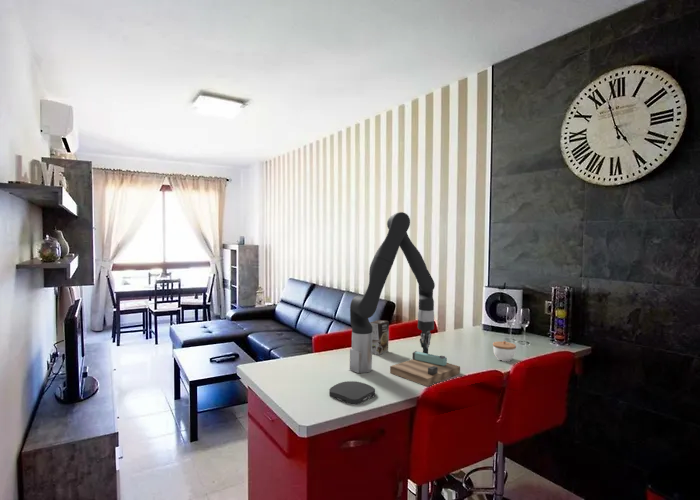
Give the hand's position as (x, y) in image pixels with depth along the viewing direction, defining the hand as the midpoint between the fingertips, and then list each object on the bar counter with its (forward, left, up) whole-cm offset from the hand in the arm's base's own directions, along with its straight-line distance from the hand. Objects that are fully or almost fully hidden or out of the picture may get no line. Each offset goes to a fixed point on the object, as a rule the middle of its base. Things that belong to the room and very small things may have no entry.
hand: (425, 355), depth 182 cm
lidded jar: (+38, -20, -5) cm, 43 cm away
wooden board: (-9, -7, -5) cm, 12 cm away
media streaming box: (-50, -4, -5) cm, 50 cm away
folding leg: (-2, -4, -1) cm, 5 cm away
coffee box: (-2, +28, -5) cm, 29 cm away
